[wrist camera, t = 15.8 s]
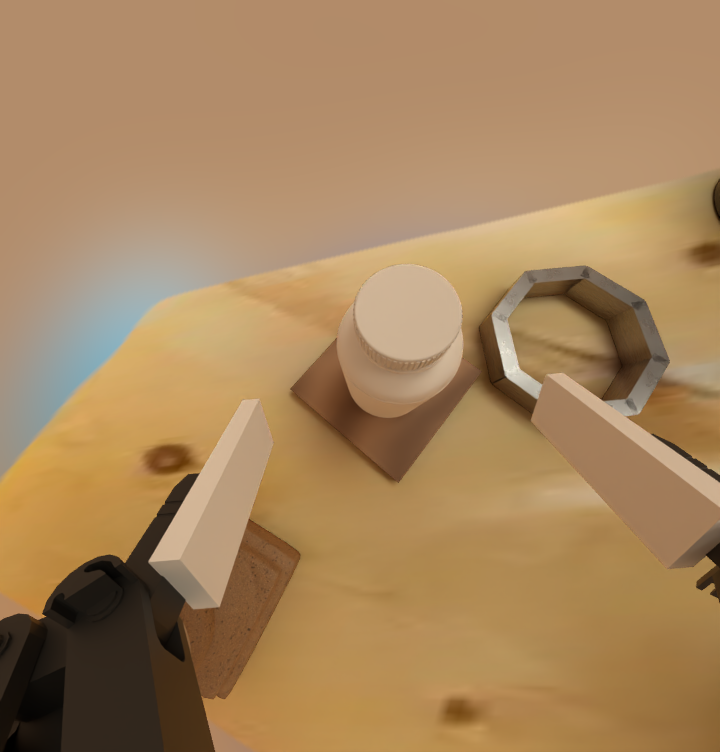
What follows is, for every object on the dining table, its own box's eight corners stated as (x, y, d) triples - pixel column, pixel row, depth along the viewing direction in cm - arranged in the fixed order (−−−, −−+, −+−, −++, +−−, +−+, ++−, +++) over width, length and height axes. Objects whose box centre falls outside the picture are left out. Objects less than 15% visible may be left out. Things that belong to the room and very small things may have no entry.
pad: (477, 374, 28) (481, 371, 27) (396, 481, 26) (398, 482, 25) (375, 300, 31) (376, 294, 30) (293, 391, 28) (290, 389, 27)
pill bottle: (331, 388, 27) (292, 323, 12) (378, 330, 28) (392, 212, 14) (394, 436, 26) (433, 427, 11) (440, 373, 27) (527, 293, 13)
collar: (657, 338, 29) (690, 327, 26) (587, 453, 26) (615, 455, 23) (530, 260, 32) (547, 242, 29) (455, 357, 29) (465, 347, 26)
